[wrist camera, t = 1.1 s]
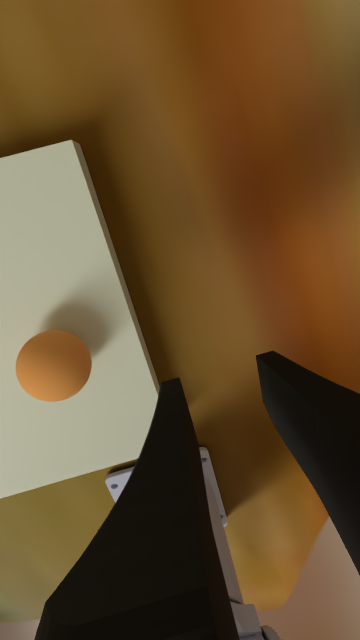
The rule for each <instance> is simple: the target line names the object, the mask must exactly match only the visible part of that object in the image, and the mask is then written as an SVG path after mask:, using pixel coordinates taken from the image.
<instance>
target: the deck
mask: <svg viewBox="0 0 360 640" xmlns="http://www.w3.org/2000/svg"><path fill="white" fill-rule="evenodd" d="M49 330H62V331H66V332H69V333H72V334H74V335H75V336H77V337H78V338H80V339H81V340H82V341H83V342H84V343H85V345H86V346H87V348H88V350H89V352H90V355H91V360H92V368H91V373H90V376H89V379H88V381H87V382H86V384H85V385H84V387H83V388H82V389H81V390H80V391H79V392H78V393H77V394H75V395H73V396H72V397H70V398H68V399H65V400H62V401H56V402H47V401H42V400H38V399H36V398H34V397H32V396H31V395H29V394H28V393H27V392H26V391H25V390H24V389H23V388H22V387H21V385H20V383H19V381H18V379H17V376H16V360H17V356H18V354H19V352H20V350H21V348H22V347H23V346H24V344H25V343H26V342H27V341H28V340H29V339H31V338H32V337H33V336H35V335H37V334H39V333H42V332H45V331H49ZM159 387H160V386H159V383H158V380H157V377H156V374H155V371H154V368H153V365H152V362H151V359H150V356H149V353H148V350H147V347H146V344H145V341H144V338H143V335H142V331H141V328H140V325H139V322H138V319H137V316H136V313H135V310H134V307H133V304H132V301H131V298H130V295H129V292H128V289H127V286H126V283H125V280H124V277H123V274H122V271H121V268H120V264H119V261H118V258H117V255H116V252H115V249H114V246H113V243H112V240H111V237H110V234H109V231H108V228H107V225H106V222H105V219H104V216H103V213H102V210H101V207H100V204H99V201H98V198H97V194H96V191H95V188H94V185H93V182H92V179H91V176H90V173H89V170H88V167H87V164H86V161H85V158H84V155H83V152H82V149H81V146H80V144H78V143H76V142H75V141H73V140H68V141H64V142H61V143H57V144H53V145H49V146H45V147H41V148H38V149H34V150H30V151H26V152H22V153H18V154H14V155H11V156H7V157H3V158H0V498H4V497H7V496H11V495H14V494H17V493H21V492H24V491H28V490H31V489H35V488H38V487H41V486H45V485H48V484H52V483H55V482H59V481H62V480H65V479H69V478H72V477H76V476H79V475H83V474H86V473H89V472H93V471H96V470H100V469H103V468H107V467H110V466H113V465H117V464H120V463H124V462H127V461H131V460H134V459H137V458H138V457H139V455H140V453H141V450H142V447H143V445H144V442H145V439H146V437H147V434H148V431H149V428H150V425H151V422H152V418H153V415H154V412H155V408H156V404H157V400H158V394H159Z"/></svg>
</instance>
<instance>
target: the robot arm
mask: <svg viewBox="0 0 360 640" xmlns="http://www.w3.org/2000/svg"><path fill="white" fill-rule="evenodd" d="M256 360H257V366H258V372H259V379H260V385H261V391H262V398H263V403H264V405H265V407H266V409H267V411H268V413H269V415H270V418H271V420H272V422H273V424H274V426H275V428H276V429H277V431H278V432H279V434H280V436H281V437H282V439H283V440H284V442H285V443H286V445H287V447H288V448H289V450H290V451H291V453H292V454H293V456H294V457H295V459H296V461H297V462H298V464H299V465H300V467H301V468H302V470H303V471H304V473H305V474H306V476H307V478H308V479H309V481H310V482H311V484H312V485H313V487H314V489H315V490H316V492H317V494H318V495H319V497H320V499H321V501H322V502H323V504H324V506H325V508H326V510H327V512H328V514H329V516H330V518H331V520H332V522H333V523H334V525H335V527H336V529H337V531H338V533H339V535H340V537H341V539H342V541H343V543H344V545H345V547H346V549H347V551H348V553H349V555H350V557H351V559H352V561H353V563H354V564H355V567H356V569H357V571H358V572H359V575H360V394H359V393H356V392H354V391H352V390H349V389H347V388H345V387H343V386H340V385H338V384H336V383H334V382H331V381H329V380H327V379H325V378H323V377H321V376H319V375H317V374H315V373H313V372H311V371H309V370H307V369H306V368H304V367H302V366H300V365H298V364H296V363H295V362H293V361H291V360H289V359H287V358H286V357H284V356H282V355H280V354H278V353H276V352H275V351H270V352H267V353H263V354H260V355H256ZM201 458H203V459H201ZM105 482H106V485H107V487H108V489H109V491H110V493H111V495H112V497H113V499H114V501H115V505H114V506H113V508H112V510H111V511H110V513H109V515H108V516H107V518H106V519H105V521H104V523H103V524H102V526H101V527H100V529H99V530H98V532H97V533H96V535H95V536H94V538H93V539H92V541H91V542H90V544H89V545H88V547H87V548H86V550H85V551H84V553H83V554H82V555H81V557H80V558H79V560H78V561H77V562H76V564H75V565H74V566H73V567H72V569H71V570H70V571H69V573H68V574H67V575H66V577H65V578H64V579H63V581H62V582H61V583H60V585H59V586H58V587H57V588H56V590H55V591H54V592H53V594H52V595H51V596H50V597H49V599H48V600H47V601H46V602H45V606H44V609H43V613H42V616H41V620H40V623H39V626H38V629H37V632H36V636H35V640H282V639H281V638H280V637H279V635H278V634H277V632H275V630H274V629H272V627H270V626H267V625H265V626H260V624H259V621H258V617H257V613H256V610H255V606H254V605H253V604H244V602H243V598H242V595H241V591H240V587H239V583H238V580H237V576H236V572H235V568H234V565H233V561H232V557H231V553H230V550H229V546H228V542H227V538H226V535H225V531H224V527H225V526H226V525H227V524H228V521H227V517H226V514H225V510H224V507H223V503H222V499H221V496H220V492H219V489H218V485H217V481H216V478H215V474H214V471H213V467H212V463H211V460H210V456H209V453H208V450H207V448H205V447H199V445H198V441H197V438H196V434H195V430H194V426H193V422H192V419H191V416H190V412H189V409H188V405H187V402H186V398H185V395H184V391H183V388H182V385H181V381H180V378H176V379H172V380H169V381H165V382H162V383H161V385H160V387H159V394H158V400H157V404H156V408H155V412H154V415H153V418H152V422H151V425H150V428H149V431H148V434H147V437H146V439H145V442H144V445H143V447H142V450H141V453H140V455H139V457H138V460H137V462H136V464H135V466H134V467H131V468H128V469H124V470H121V471H117V472H114V473H110V474H108V475H107V476H106V480H105Z"/></svg>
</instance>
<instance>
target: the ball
mask: <svg viewBox="0 0 360 640" xmlns="http://www.w3.org/2000/svg"><path fill="white" fill-rule="evenodd" d="M91 368H92V360H91V355H90V352H89V350H88V348H87V346H86V345H85V343H84V342H83V341H82V340H81V339H80V338H78V337H77V336H75V335H74V334H72V333H69V332H66V331H62V330H49V331H45V332H42V333H39V334H37V335H35V336H33V337H32V338H31V339H29V340H28V341H27V342H26V343H25V344H24V346H23V347H22V348H21V350H20V352H19V354H18V356H17V360H16V376H17V379H18V381H19V383H20V385H21V387H22V388H23V389H24V390H25V391H26V392H27V393H28V394H29V395H31V396H32V397H34V398H36V399H38V400H42V401H47V402H56V401H62V400H65V399H68V398H70V397H72V396H73V395H75V394H77V393H78V392H79V391H80V390H81V389H82V388H83V387H84V385H85V384H86V382H87V381H88V379H89V376H90V373H91Z"/></svg>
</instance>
